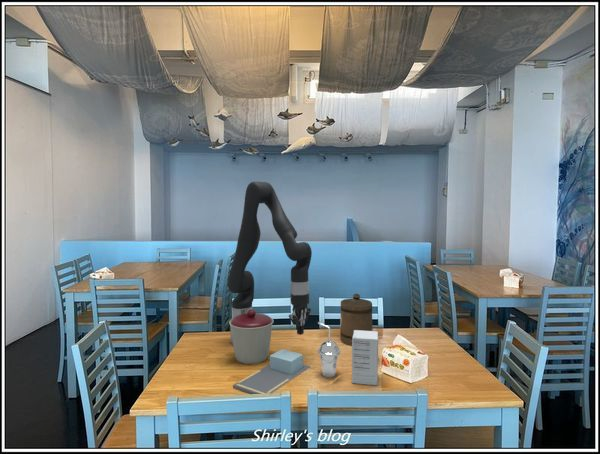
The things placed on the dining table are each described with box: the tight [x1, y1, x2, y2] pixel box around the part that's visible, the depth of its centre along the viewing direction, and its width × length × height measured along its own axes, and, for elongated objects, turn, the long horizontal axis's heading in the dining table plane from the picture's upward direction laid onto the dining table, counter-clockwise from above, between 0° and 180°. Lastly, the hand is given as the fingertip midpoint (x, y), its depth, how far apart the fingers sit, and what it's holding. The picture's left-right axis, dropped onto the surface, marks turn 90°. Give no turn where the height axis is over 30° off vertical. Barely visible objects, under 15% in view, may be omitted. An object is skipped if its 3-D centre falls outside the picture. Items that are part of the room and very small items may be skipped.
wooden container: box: [339, 293, 373, 346], centre depth 186 cm, size 15×15×22 cm
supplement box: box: [351, 330, 379, 386], centre depth 147 cm, size 10×9×17 cm
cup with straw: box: [317, 321, 341, 378], centre depth 148 cm, size 8×9×20 cm
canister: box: [228, 309, 274, 365], centre depth 164 cm, size 18×18×21 cm
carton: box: [269, 348, 304, 374], centre depth 155 cm, size 10×8×5 cm
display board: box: [232, 363, 312, 395], centre depth 148 cm, size 15×28×1 cm, turn 146°
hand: (300, 334), depth 162 cm, fingers closed
